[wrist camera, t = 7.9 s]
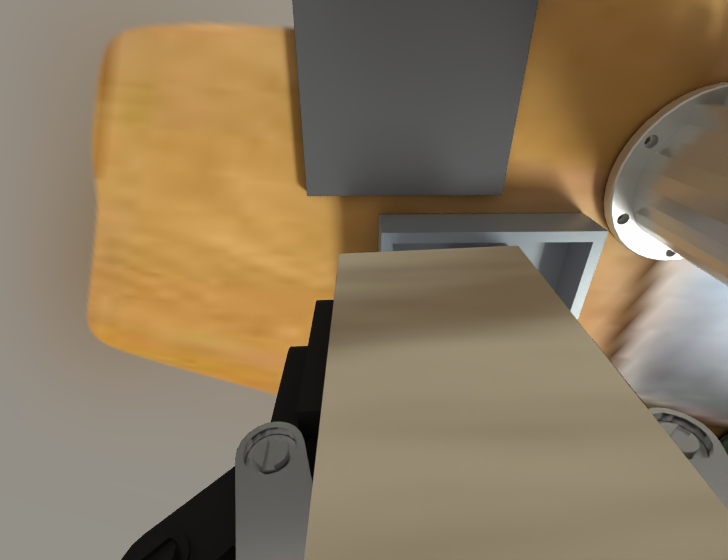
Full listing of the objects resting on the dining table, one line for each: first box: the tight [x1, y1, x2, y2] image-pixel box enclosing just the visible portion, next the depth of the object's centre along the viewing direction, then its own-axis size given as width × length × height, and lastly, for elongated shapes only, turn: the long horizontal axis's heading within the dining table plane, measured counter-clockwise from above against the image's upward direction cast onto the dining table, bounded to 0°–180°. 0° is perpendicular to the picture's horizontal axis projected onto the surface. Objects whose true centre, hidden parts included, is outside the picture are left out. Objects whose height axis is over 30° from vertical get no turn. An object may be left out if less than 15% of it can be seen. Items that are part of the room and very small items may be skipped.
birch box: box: [304, 246, 728, 560], centre depth 9 cm, size 5×5×8 cm
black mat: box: [292, 0, 538, 196], centre depth 25 cm, size 14×14×1 cm
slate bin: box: [378, 213, 608, 320], centre depth 33 cm, size 19×16×4 cm
